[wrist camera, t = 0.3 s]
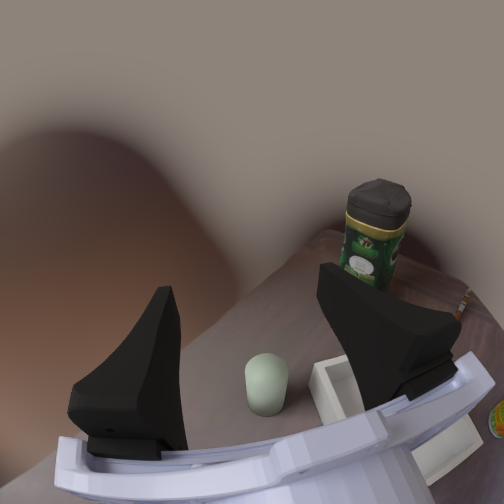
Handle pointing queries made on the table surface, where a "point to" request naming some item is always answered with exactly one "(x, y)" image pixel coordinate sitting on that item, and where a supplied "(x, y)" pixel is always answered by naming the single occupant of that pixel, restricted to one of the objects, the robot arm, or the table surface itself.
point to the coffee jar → (374, 231)
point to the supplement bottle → (497, 420)
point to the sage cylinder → (266, 384)
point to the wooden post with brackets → (463, 304)
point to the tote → (350, 403)
